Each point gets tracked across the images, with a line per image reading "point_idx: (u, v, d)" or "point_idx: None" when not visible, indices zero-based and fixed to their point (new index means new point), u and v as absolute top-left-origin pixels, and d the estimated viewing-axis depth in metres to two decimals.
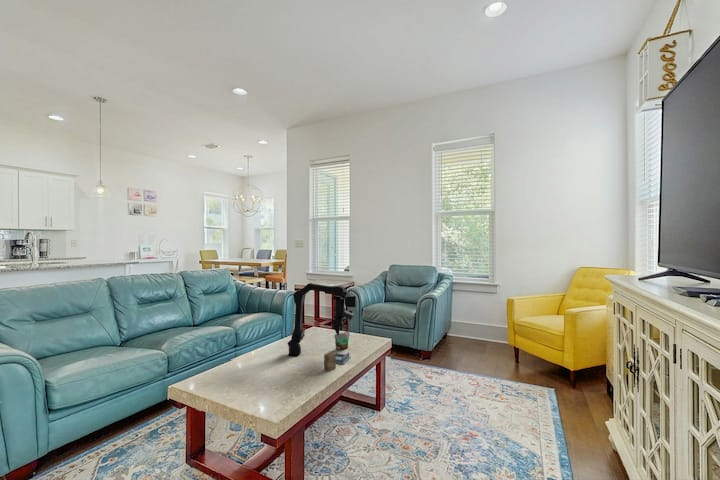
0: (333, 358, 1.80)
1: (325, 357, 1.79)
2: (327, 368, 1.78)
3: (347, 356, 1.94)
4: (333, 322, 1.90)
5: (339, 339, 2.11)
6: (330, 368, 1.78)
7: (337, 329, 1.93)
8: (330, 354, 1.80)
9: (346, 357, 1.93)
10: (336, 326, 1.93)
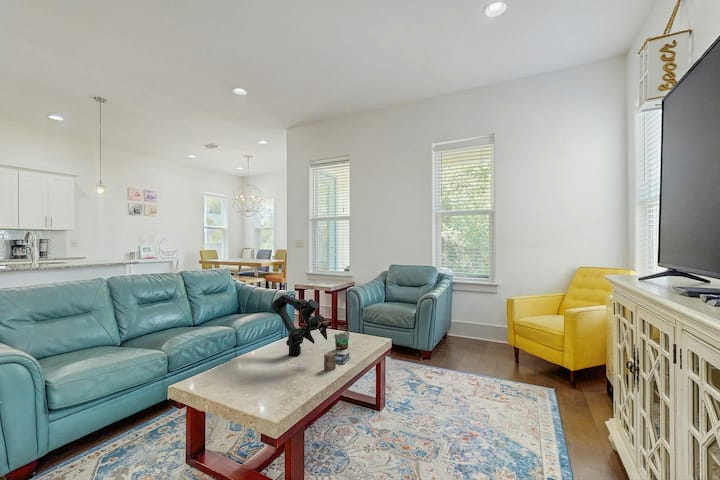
0: (333, 358, 1.80)
1: (325, 357, 1.79)
2: (327, 368, 1.78)
3: (347, 356, 1.94)
4: (299, 333, 1.84)
5: (339, 339, 2.11)
6: (330, 368, 1.78)
7: (309, 338, 1.83)
8: (330, 354, 1.80)
9: (346, 357, 1.93)
10: (307, 336, 1.84)
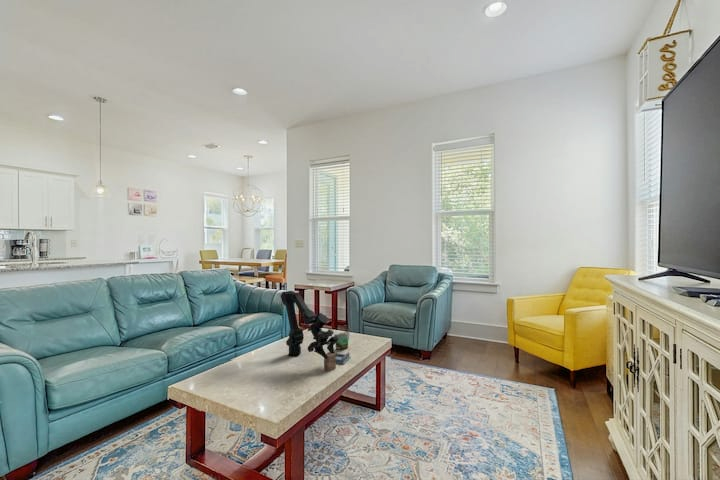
0: (333, 358, 1.80)
1: None
2: (327, 368, 1.78)
3: (347, 356, 1.94)
4: (308, 349, 1.78)
5: (339, 339, 2.11)
6: (330, 368, 1.78)
7: (322, 353, 1.79)
8: (330, 354, 1.80)
9: (346, 357, 1.93)
10: (320, 351, 1.80)
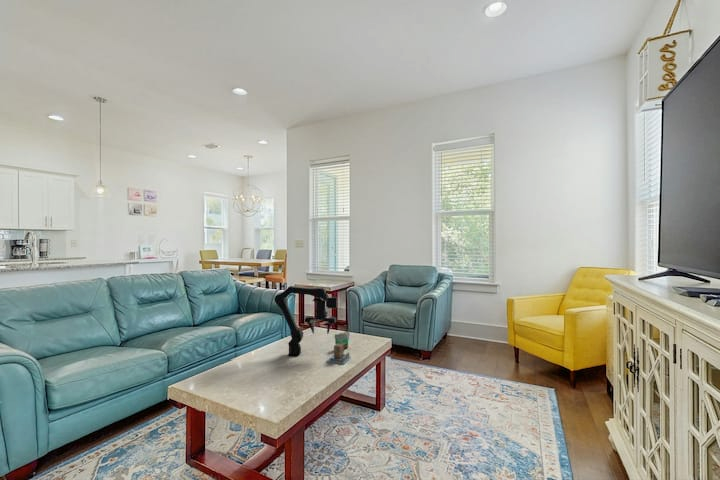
0: (342, 348, 1.94)
1: (335, 348, 1.92)
2: (338, 358, 1.91)
3: (347, 356, 1.94)
4: (334, 321, 2.00)
5: (339, 339, 2.11)
6: (341, 357, 1.92)
7: (329, 328, 2.02)
8: (339, 344, 1.94)
9: (346, 357, 1.93)
10: (329, 325, 2.01)
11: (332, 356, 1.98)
